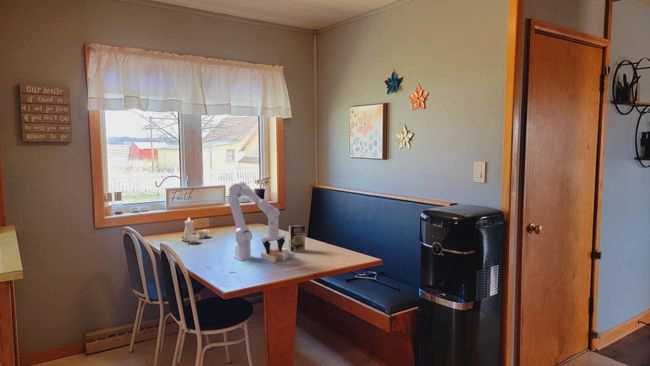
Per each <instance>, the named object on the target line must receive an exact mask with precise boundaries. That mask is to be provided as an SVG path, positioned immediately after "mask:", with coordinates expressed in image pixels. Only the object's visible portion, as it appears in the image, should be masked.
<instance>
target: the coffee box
mask: <svg viewBox="0 0 650 366" xmlns="http://www.w3.org/2000/svg"><path fill="white" fill-rule="evenodd" d="M305 227H306V226H305V225H304V224H291V225H288V249H289V251H290V252H293V253H297V252H305V251H306V228H305Z"/></svg>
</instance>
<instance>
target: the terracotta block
mask: <svg viewBox="0 0 650 366" xmlns="http://www.w3.org/2000/svg"><path fill="white" fill-rule="evenodd" d="M269 255H271V256H274V257H276V260H279V249H278V247H277V248H276V247H273V248H270V254H269Z"/></svg>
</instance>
